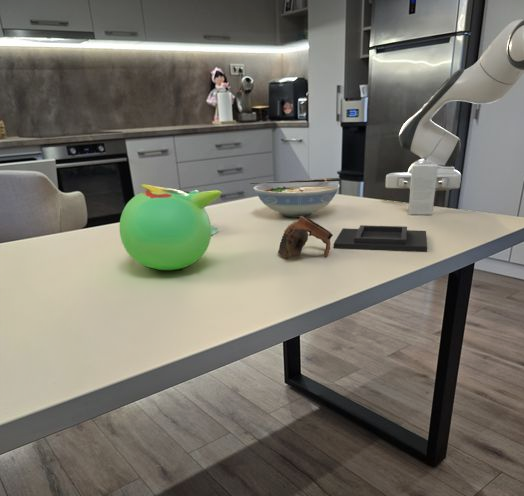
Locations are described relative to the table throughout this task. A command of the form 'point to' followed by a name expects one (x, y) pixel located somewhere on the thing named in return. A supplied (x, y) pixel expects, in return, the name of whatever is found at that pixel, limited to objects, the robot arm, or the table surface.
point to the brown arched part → (302, 237)
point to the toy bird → (167, 227)
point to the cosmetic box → (422, 189)
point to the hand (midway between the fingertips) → (422, 184)
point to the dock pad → (382, 238)
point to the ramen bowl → (297, 195)
